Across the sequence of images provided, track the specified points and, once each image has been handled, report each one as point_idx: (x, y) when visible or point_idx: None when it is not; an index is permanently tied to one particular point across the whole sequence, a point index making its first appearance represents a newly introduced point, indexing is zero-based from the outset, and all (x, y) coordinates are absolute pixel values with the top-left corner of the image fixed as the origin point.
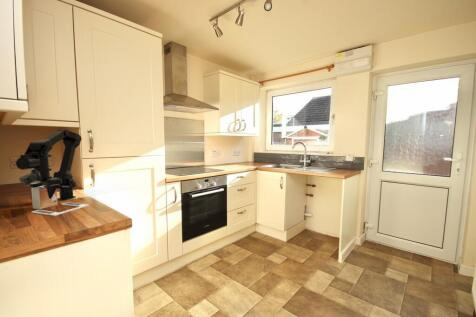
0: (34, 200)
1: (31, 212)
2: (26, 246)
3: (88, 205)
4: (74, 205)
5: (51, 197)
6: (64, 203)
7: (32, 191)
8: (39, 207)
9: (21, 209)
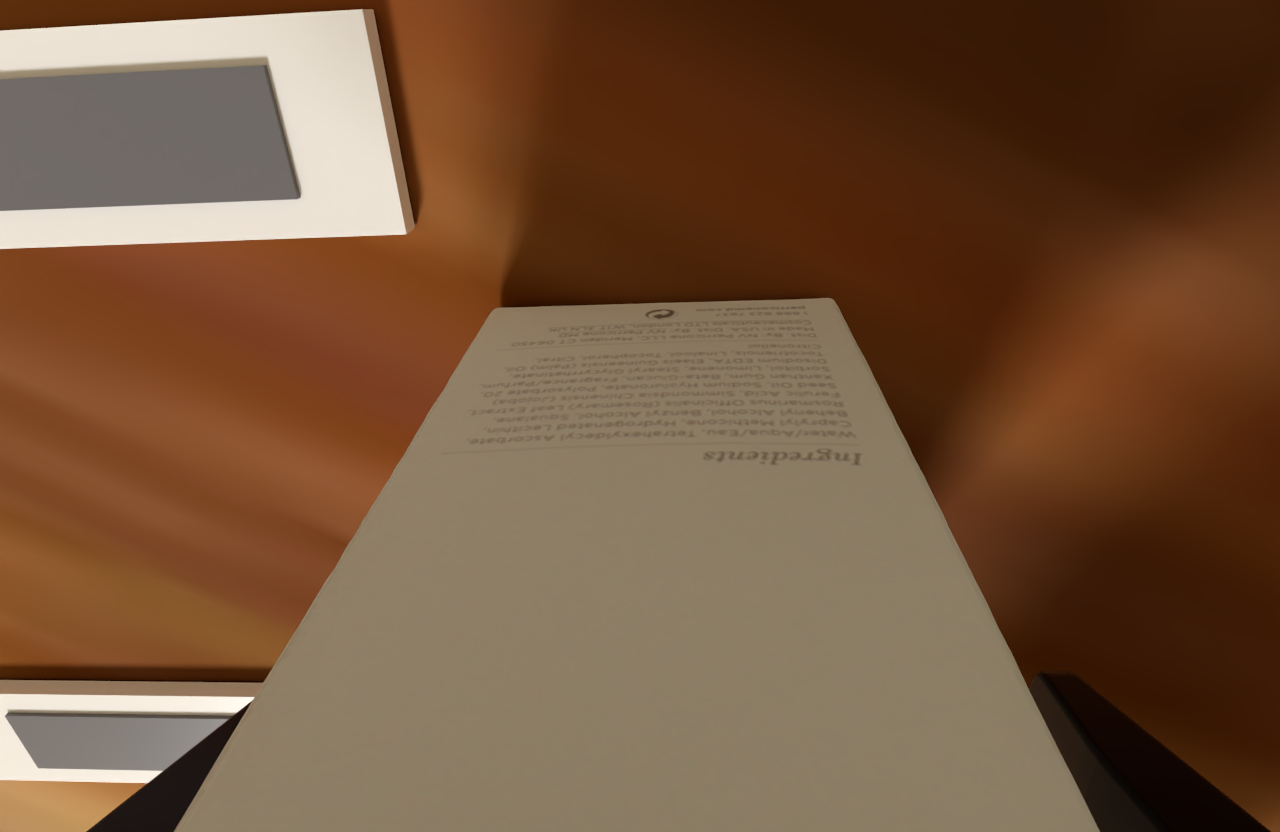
0: (727, 419)
1: (370, 11)
2: None
3: None
4: (77, 693)
5: None
6: None
7: (938, 793)
8: (511, 323)
9: (1134, 113)
